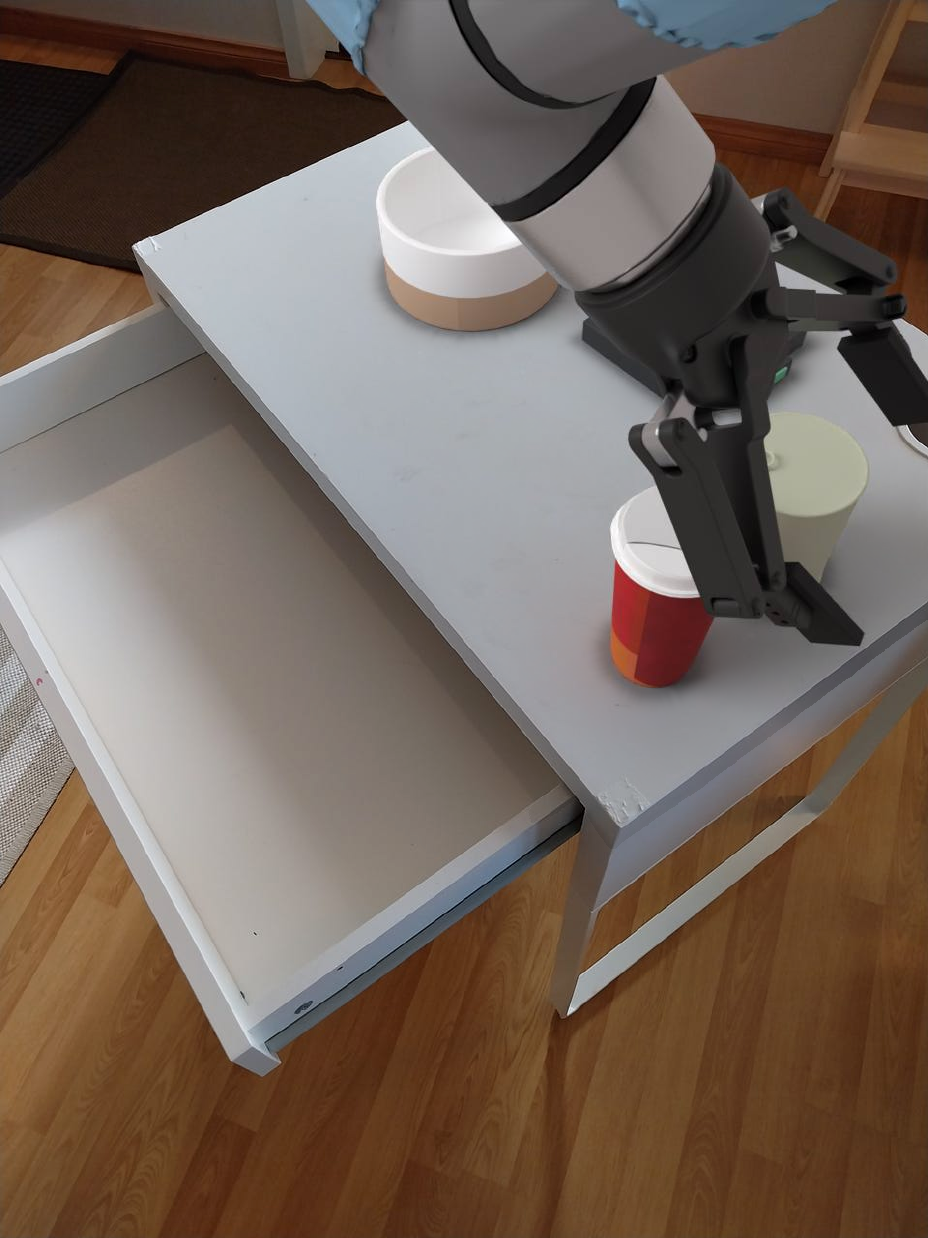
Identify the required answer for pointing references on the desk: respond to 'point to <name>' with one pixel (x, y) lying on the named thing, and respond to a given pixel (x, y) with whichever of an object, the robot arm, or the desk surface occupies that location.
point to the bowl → (453, 250)
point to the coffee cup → (653, 596)
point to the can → (813, 484)
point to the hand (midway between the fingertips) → (880, 524)
